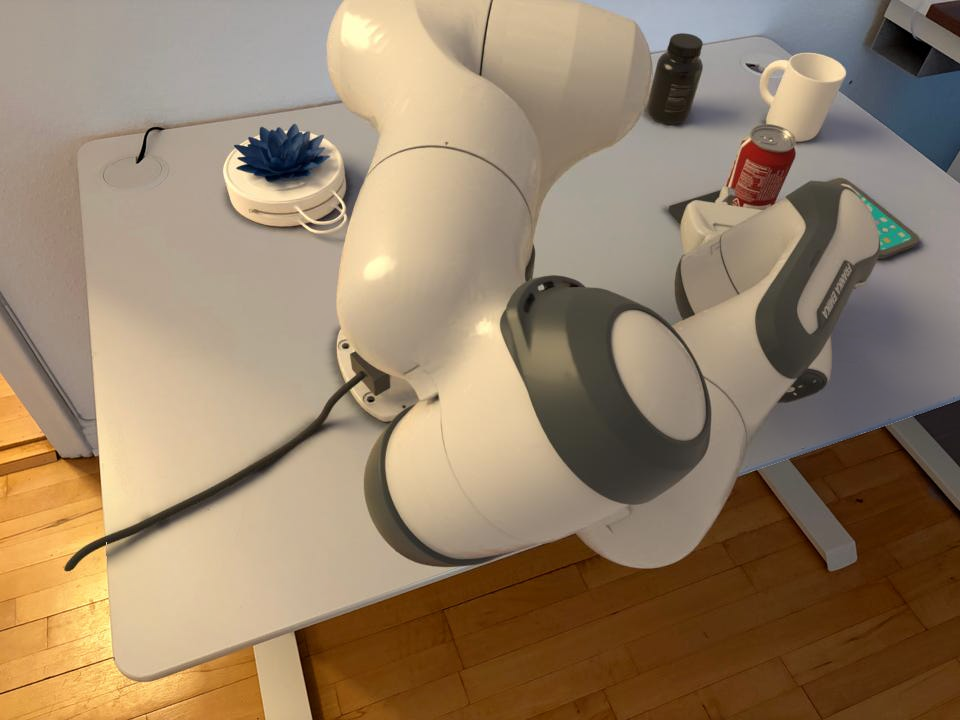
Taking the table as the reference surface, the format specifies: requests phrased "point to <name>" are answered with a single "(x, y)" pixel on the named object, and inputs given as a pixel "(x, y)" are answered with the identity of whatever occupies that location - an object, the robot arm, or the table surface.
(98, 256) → the table surface
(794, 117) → the mug
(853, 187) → the smartphone
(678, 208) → the notebook
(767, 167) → the soda can
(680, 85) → the supplement bottle
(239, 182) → the lotus gift box
